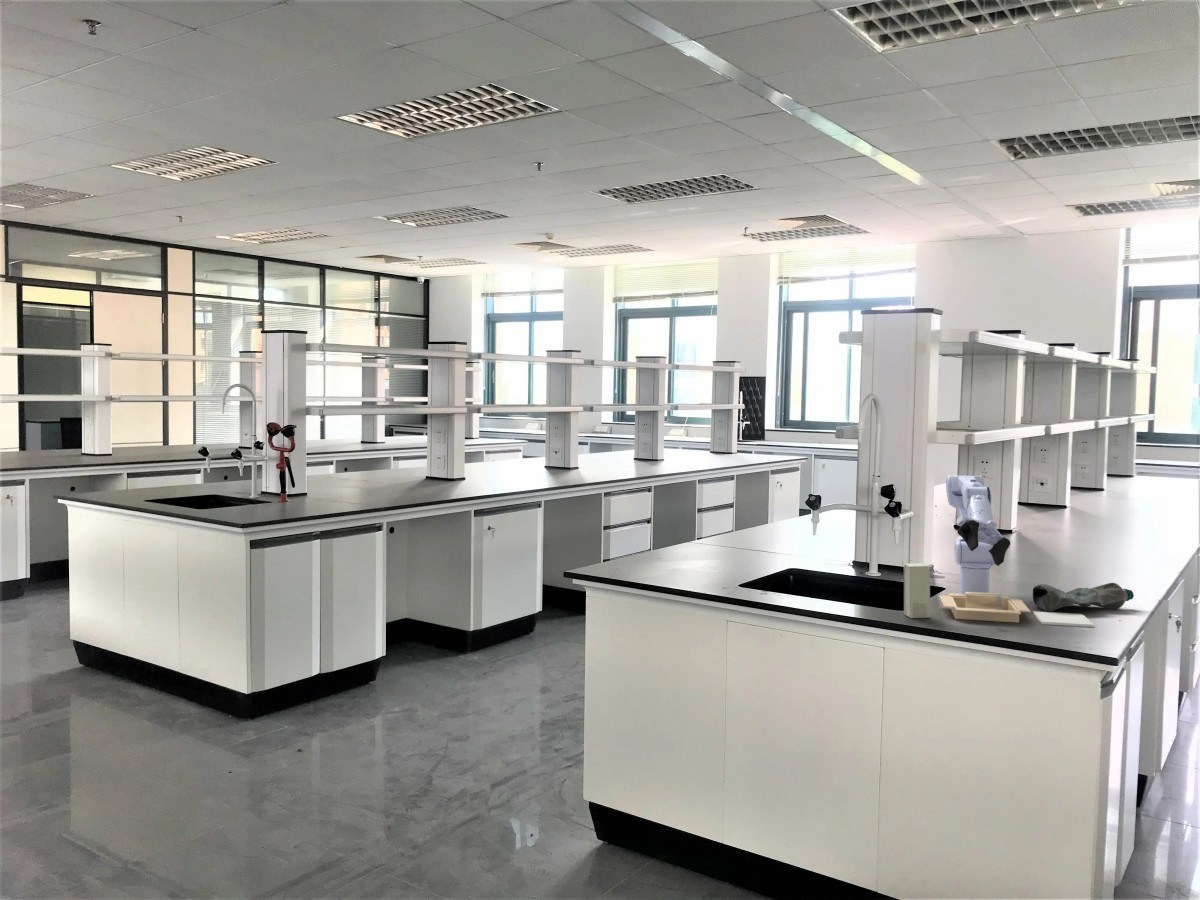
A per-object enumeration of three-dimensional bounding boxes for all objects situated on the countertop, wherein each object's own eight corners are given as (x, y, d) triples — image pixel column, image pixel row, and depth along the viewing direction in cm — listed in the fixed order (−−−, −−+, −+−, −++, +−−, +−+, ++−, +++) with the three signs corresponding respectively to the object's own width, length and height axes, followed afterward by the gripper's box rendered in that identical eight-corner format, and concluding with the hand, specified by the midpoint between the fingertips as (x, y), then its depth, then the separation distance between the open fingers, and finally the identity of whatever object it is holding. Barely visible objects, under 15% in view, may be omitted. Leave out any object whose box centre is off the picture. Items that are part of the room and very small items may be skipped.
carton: (938, 603, 232) (938, 592, 232) (1018, 607, 227) (1018, 597, 227) (945, 620, 214) (945, 608, 214) (1032, 625, 209) (1032, 613, 208)
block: (964, 611, 223) (965, 591, 223) (999, 613, 221) (999, 593, 221) (966, 614, 220) (966, 594, 219) (1001, 617, 217) (1002, 596, 217)
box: (923, 614, 220) (924, 562, 220) (930, 618, 216) (931, 565, 215) (902, 614, 220) (903, 562, 220) (909, 618, 216) (909, 566, 215)
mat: (1033, 613, 220) (1033, 611, 220) (1082, 616, 217) (1082, 614, 217) (1041, 624, 210) (1042, 621, 210) (1093, 627, 207) (1093, 624, 207)
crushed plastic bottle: (1050, 616, 218) (1149, 613, 219) (1048, 587, 218) (1148, 583, 219) (1023, 608, 231) (1117, 605, 232) (1021, 581, 232) (1115, 578, 232)
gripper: (968, 496, 224) (974, 531, 213) (1015, 523, 225) (1023, 560, 215) (949, 513, 228) (953, 548, 217) (995, 540, 230) (1002, 576, 219)
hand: (986, 555), depth 216 cm, fingers open, 7 cm apart
